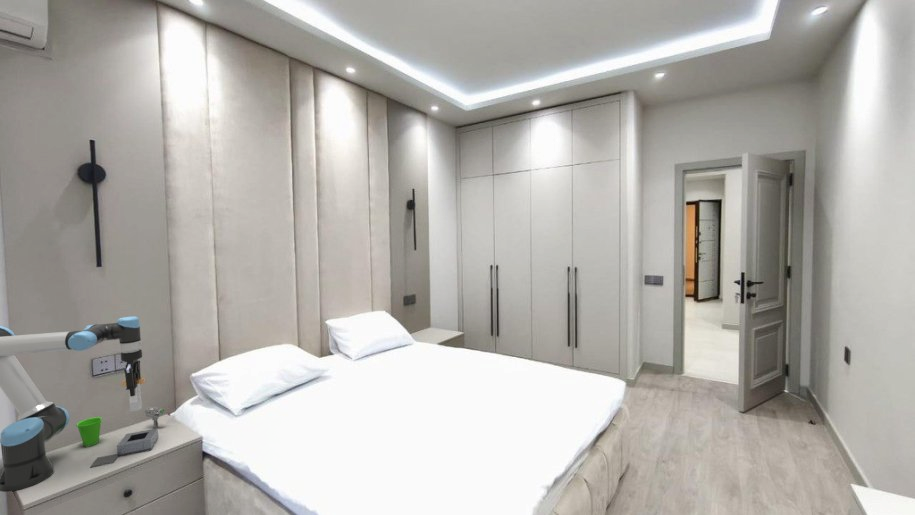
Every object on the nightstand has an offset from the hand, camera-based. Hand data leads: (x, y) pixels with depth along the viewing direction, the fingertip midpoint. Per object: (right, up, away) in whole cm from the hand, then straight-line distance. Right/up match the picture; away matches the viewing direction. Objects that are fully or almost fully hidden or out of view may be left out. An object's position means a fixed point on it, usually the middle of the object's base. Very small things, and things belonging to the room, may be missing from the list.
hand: (135, 400), depth 182 cm
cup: (-26, -23, +6) cm, 35 cm away
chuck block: (+1, -22, +1) cm, 22 cm away
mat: (-5, -23, -9) cm, 25 cm away
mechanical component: (-6, -21, +20) cm, 30 cm away
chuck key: (0, -4, 0) cm, 4 cm away
